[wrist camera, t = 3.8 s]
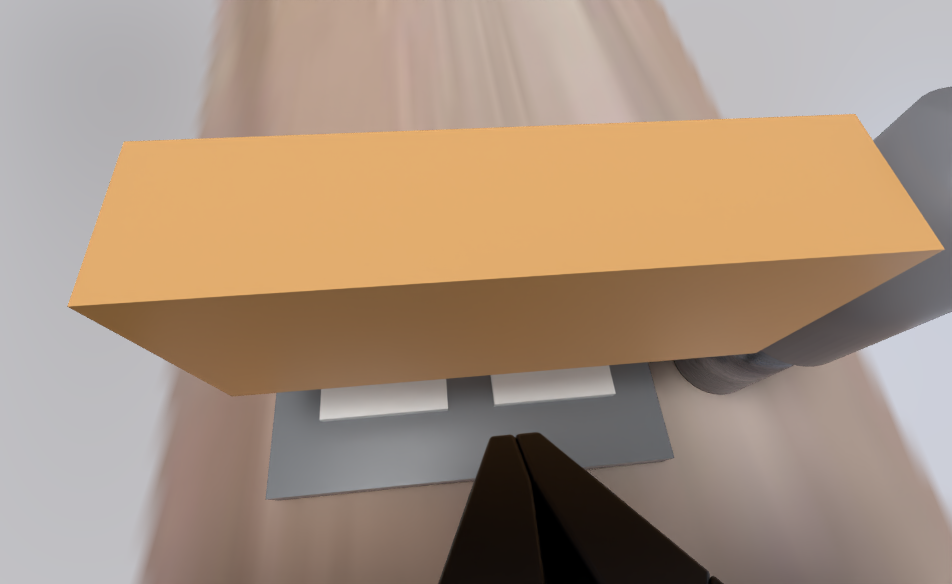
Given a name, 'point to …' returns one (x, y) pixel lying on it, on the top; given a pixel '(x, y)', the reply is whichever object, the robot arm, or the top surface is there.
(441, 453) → the label plate
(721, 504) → the top surface
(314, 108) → the top surface
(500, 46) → the top surface
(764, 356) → the grey grooved cylinder
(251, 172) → the swing bar
